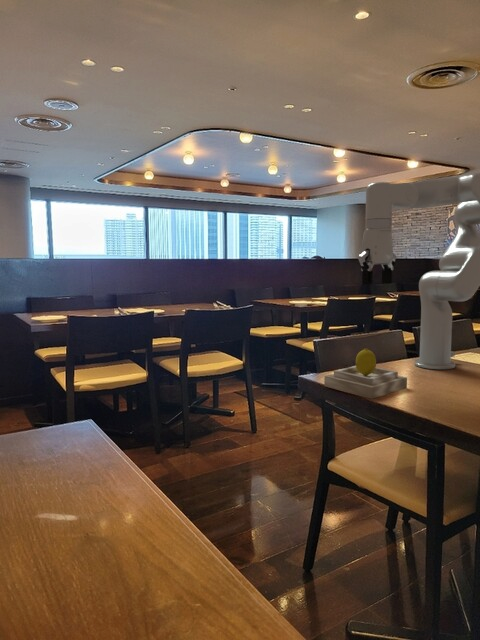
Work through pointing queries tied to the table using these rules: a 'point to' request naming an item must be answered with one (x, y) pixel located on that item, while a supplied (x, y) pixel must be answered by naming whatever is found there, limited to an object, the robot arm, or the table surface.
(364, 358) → the lemon
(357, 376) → the stand
